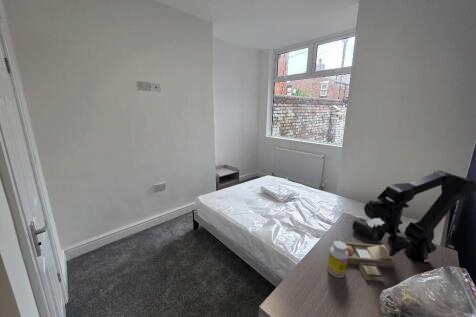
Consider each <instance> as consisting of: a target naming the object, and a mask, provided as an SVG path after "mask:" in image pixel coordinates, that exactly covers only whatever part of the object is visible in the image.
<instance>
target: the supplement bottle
mask: <svg viewBox="0 0 476 317" xmlns="http://www.w3.org/2000/svg"><path fill="white" fill-rule="evenodd" d="M343 242H344V241H342V240H341V241H337V240H335V241H333V244H332V245H331V247H330V248H329V253H328V261H327V268H326V269H327V271H328V273H330V275H332V276H333V277H335V278H343V277H344V276H346V272H347V266H348V263H347V262H348V256H349V255H348V252H347V245H346V244H345V243H343Z"/></svg>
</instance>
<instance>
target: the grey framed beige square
mask: <svg viewBox="0 0 476 317" xmlns="http://www.w3.org/2000/svg"><path fill="white" fill-rule="evenodd" d="M358 268H359V270H360V272H361V274H362V275H363V277H364V279H365V280H367V281H375V282H384V274H383V273H382V271H381V270H380V268H379V267H378V266H377V265H376V264H370V263H360V265H358Z"/></svg>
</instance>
